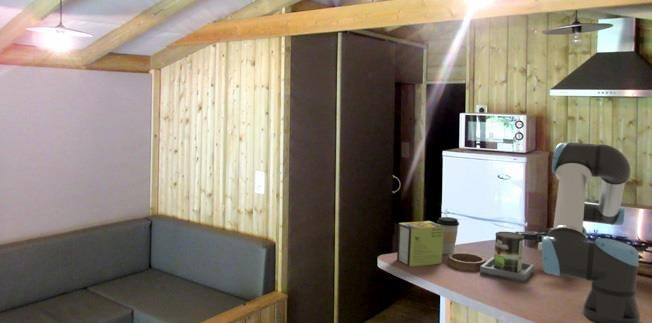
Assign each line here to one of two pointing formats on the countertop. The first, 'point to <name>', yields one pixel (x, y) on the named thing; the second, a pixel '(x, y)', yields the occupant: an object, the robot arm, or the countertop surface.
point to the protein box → (420, 243)
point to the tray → (518, 277)
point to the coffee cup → (449, 233)
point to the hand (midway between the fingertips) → (523, 242)
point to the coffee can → (508, 251)
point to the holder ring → (473, 265)
